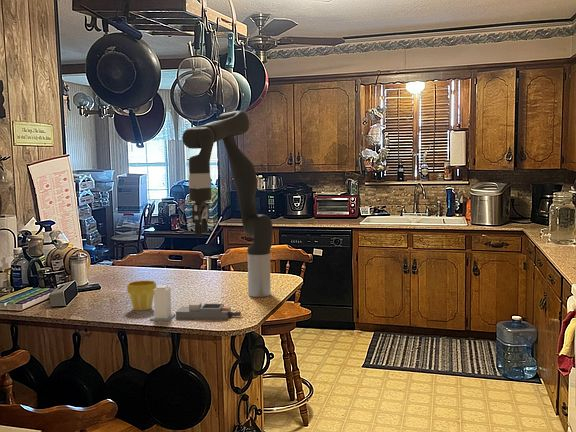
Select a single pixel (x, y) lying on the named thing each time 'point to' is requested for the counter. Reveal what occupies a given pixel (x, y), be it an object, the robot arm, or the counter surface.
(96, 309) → the counter surface
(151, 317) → the pad
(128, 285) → the plant pot
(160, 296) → the block
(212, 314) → the power strip
